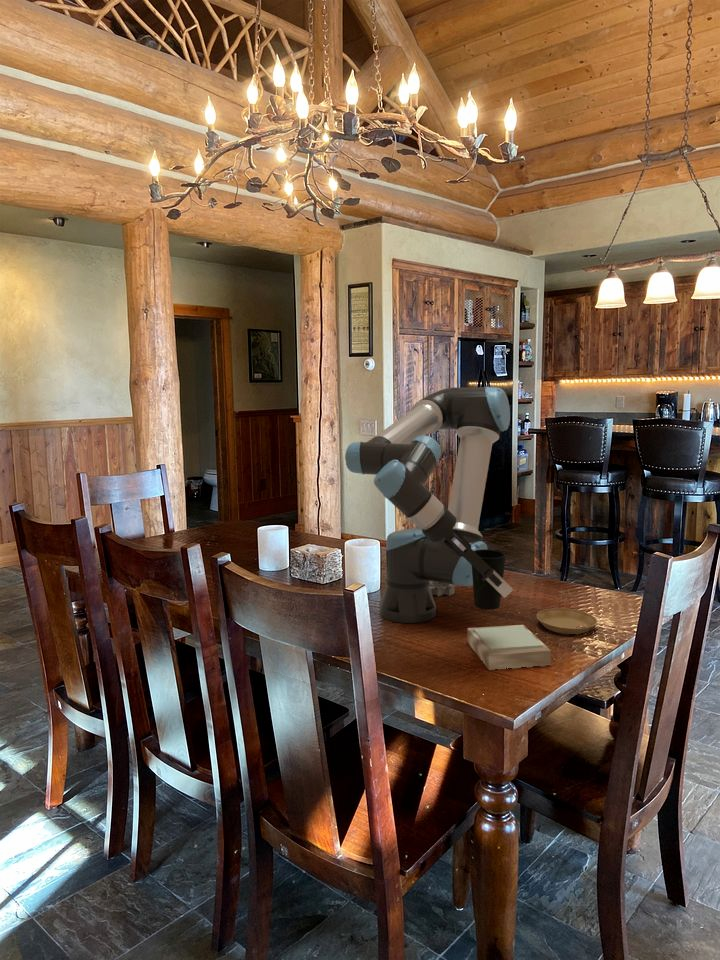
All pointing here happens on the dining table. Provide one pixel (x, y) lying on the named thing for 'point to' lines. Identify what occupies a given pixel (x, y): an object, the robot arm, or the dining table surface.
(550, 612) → the plant saucer
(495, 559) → the cup
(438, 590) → the egg carton
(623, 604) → the dining table surface
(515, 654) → the stand
